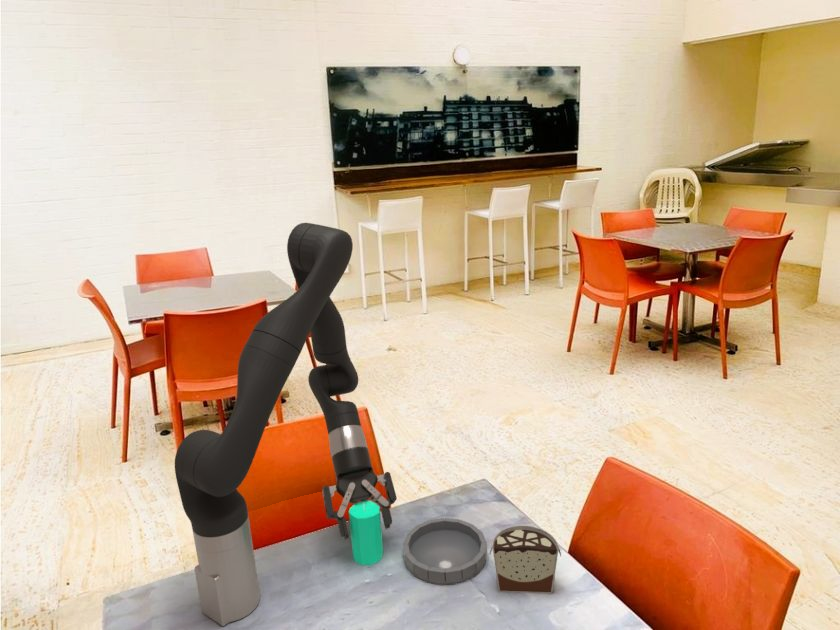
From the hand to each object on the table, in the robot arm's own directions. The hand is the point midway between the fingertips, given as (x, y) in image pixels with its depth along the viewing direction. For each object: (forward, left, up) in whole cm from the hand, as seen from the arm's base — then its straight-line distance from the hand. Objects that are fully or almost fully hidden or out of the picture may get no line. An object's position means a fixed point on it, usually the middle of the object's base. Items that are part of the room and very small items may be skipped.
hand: (367, 532), depth 115 cm
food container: (+11, -28, -6) cm, 30 cm away
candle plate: (+9, -12, -6) cm, 16 cm away
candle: (+1, +1, -6) cm, 7 cm away
